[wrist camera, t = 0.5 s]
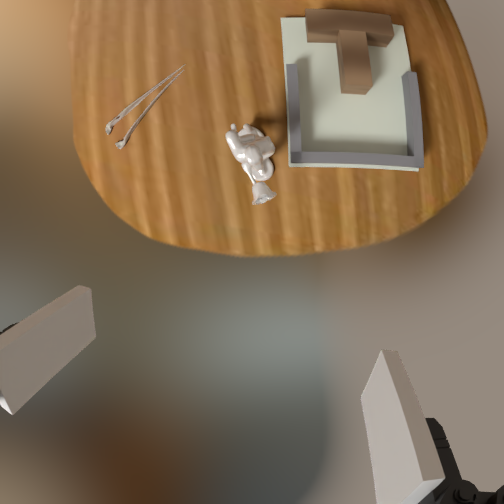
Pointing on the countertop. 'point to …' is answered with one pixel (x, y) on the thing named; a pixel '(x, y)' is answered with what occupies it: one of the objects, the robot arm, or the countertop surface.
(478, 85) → the countertop surface
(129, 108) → the silver tweezers
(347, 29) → the t block
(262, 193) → the figurine
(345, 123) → the board
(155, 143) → the countertop surface
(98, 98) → the countertop surface
